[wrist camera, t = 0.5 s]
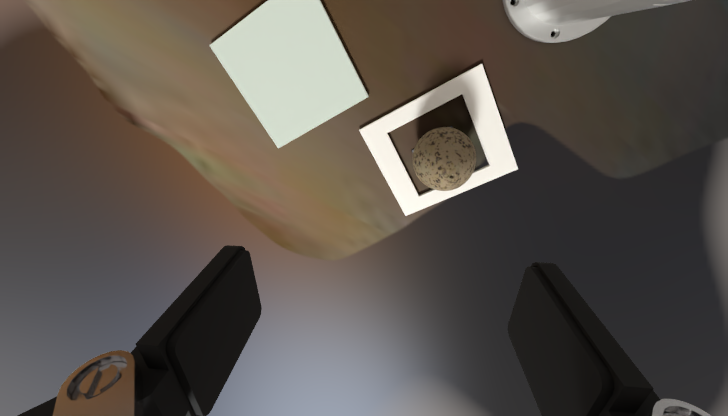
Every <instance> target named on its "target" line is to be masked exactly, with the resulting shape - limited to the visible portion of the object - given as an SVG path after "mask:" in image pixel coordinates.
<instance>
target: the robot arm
mask: <svg viewBox="0 0 728 416" xmlns="http://www.w3.org/2000/svg"><path fill="white" fill-rule="evenodd" d="M685 1H690V0H514V5H511V4H510V2H511V0H503V5H504V9H505V12H506V14H507V16H508V18H509V20H510V22H511V23H512V24H513V26H514V27H515V28H516V29H517V30H518V31H519V32H520V33H522V34H523V35H524V36H525V37H528V38H530V39H532V40H534V41H539V42H544V43H557V42H564V41H569V40H572V39H575V38H578V37H581V36H583V35H585V34H587V33H589V32H591V31H593V30H594V29H596V28H597V27H598V26H600V25H601V24H603V23H604V22H605V21H606V20H607V19H609V18H610V17H611V16H613V15H618V14H623V13H629V12H634V11H639V10H644V9H650V8H655V7H660V6H665V5H671V4H676V3H681V2H685ZM551 32H553V33H554V34H553V36H552V37H551ZM260 315H261V303H260V298H259V294H258V289H257V284H256V280H255V276H254V271H253V266H252V261H251V257H250V253H249V251H246V250H245V248H244V247H242V246H224V247H223V248H222V249H221V250H220V252H219V253H218V254H217V255H216V256H215V257H214V258H213V259H212V260H211V262H210V263H209V264H208V265H207V266H206V267H205V268H204V269H203V270H202V271H201V272H200V274H199V275H198V276H197V277H196V278H195V279H194V280H193V281H192V282H191V284H190V285H189V286H188V287H187V288H186V289H185V290H184V291H183V292H182V293H181V295H180V296H179V297H178V298H177V299H176V300H175V301H174V302H173V304H171V306H170V307H169V308H168V309H167V310H166V311H165V313H163V314H162V315H161V317H160V318H159V319H158V320H157V321H156V322H155V323H154V324H153V325H152V327H151V328H150V329H149V330H148V331H147V332H146V333H145V334H144V335H143V336H142V338H141V339H140V340H139V341H138V342H137V343H136V348H135V349H134V350H133V351H132V352H131V353H129V352H128V351H122V350H118V351H111V352H107V353H104V354H101V355H99V356H97V357H95V358H93V359H91V360H89V361H87V362H86V363H84V364H83V365H81V366H80V367H79V368H77V369H76V370H75V371H74V372H73V373H72V374H71V375H69V376H68V378H67V379H66V380H65V382H64V383H63V384H62V385H61V388H60V390H59V392H58V395H57V397H55V398H53V399H51V400H49V401H47V402H45V403H43V404H41V405H39V406H37V407H34V408H32V409H30V410H28V411H26V412H24V413H22V414H20V415H18V416H206V415H208V414H209V413H210V411H211V410H212V408H213V406H214V404H215V402H216V400H217V398H218V396H219V394H220V392H221V390H222V389H223V387H224V385H225V383H226V381H227V379H228V377H229V375H230V373H231V371H232V369H233V367H234V366H235V364H236V362H237V360H238V358H239V356H240V354H241V352H242V350H243V348H244V346H245V344H246V343H247V341H248V338H249V337H250V335H251V333H252V331H253V329H254V327H255V325H256V323H257V321H258V320H259V318H260ZM508 333H509V337H510V340H511V342H512V345H513V347H514V349H515V352H516V354H517V357H518V359H519V361H520V364H521V366H522V369H523V371H524V374H525V376H526V378H527V381H528V383H529V385H530V388H531V391H532V393H533V395H534V398H535V400H536V403H537V405H538V407H539V410H540V412H541V415H542V416H711V415H709V414H708V413H706V412H704V411H703V410H701V409H699V408H697V407H695V406H693V405H690V404H688V403H686V402H682V401H678V400H674V399H662V400H660V399H659V397H658V396H657V395H656V394H655V392H654V391H653V387H652V386H651V385H650V384H649V382H648V381H647V380H646V378H645V377H644V376H643V375H642V373H641V372H640V371H639V370H638V368H637V367H636V366H635V364H634V363H633V362H632V361H631V359H630V358H629V357H628V355H627V354H626V353H625V352H624V350H623V349H622V348H621V347H620V345H619V344H618V343H617V341H616V340H615V339H614V338H613V336H612V335H611V334H610V333H609V331H608V330H607V329H606V327H605V326H604V325H603V324H602V322H601V321H600V320H599V319H598V317H597V316H596V315H595V313H594V312H593V311H592V310H591V308H590V307H589V306H588V305H587V303H586V302H585V301H584V299H583V298H582V297H581V296H580V294H579V293H578V292H577V290H576V289H575V288H574V287H573V285H572V284H571V283H570V282H569V280H568V279H567V278H566V277H565V275H564V274H563V273H562V271H561V270H560V269H559V268H558V267H557V266H556V264H553V263H538V262H535V263H533V264H532V266H531V267H527V268H526V270H525V273H524V276H523V279H522V282H521V286H520V289H519V292H518V295H517V298H516V302H515V305H514V308H513V311H512V314H511V317H510V321H509V323H508Z"/></svg>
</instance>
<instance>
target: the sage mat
mask: <svg viewBox="0 0 728 416" xmlns="http://www.w3.org/2000/svg"><path fill="white" fill-rule="evenodd" d="M209 46H210V47H211V49H212V50H213V52H214V53H215V55H216V56H217V58H218V59H219V61H220V62H221V64H222V65H223V67H224V68H225V70H226V71H227V73H228V74H229V76H230V77H231V79H232V80H233V82H234V83H235V85H236V86H237V88H238V89H239V91H240V92H241V94H242V95H243V97H244V98H245V100H246V101H247V103H248V104H249V105H250V107H251V108H252V110H253V111H254V113H255V114H256V116H257V117H258V119H259V120H260V122H261V123H262V125H263V126H264V128H265V129H266V131H267V132H268V134H269V135H270V137H271V138H272V140H273V141H274V143H275V144H276V146H277V147H278V148H280V147H282V146H283V145H285V144H287V143H289V142H290V141H292V140H294V139H296V138H297V137H299V136H301V135H303V134H304V133H306V132H308V131H310V130H311V129H313V128H315V127H317V126H318V125H320V124H322V123H324V122H325V121H327V120H329V119H331V118H332V117H334V116H336V115H338V114H339V113H341V112H343V111H345V110H346V109H348V108H350V107H352V106H353V105H355V104H357V103H358V102H360V101H362V100H364V99H365V98H367V97H369V96H368V94H367V92H366V90H365V88H364V86H363V84H362V82H361V80H360V78H359V76H358V74H357V72H356V70H355V68H354V66H353V64H352V62H351V60H350V58H349V56H348V54H347V52H346V50H345V48H344V46H343V44H342V42H341V40H340V38H339V36H338V34H337V32H336V30H335V28H334V26H333V24H332V22H331V20H330V18H329V16H328V14H327V12H326V10H325V8H324V6H323V4H322V2H321V1H320V0H268V1H266V2H265V3H264V4H262V5H261V6H260V7H259V8H257V9H256V10H255V11H253V12H252V13H251V14H249V15H248V16H247V17H246V18H244V19H243V20H242V21H240V22H239V23H238V24H237V25H235V26H234V27H233V28H231V29H230V30H229V31H228V32H226V33H225V34H224V35H222V36H221V37H220V38H218V39H217V40H216V41H215V42H213V43H212V44H211V45H209Z"/></svg>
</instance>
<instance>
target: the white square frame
mask: <svg viewBox="0 0 728 416" xmlns="http://www.w3.org/2000/svg"><path fill="white" fill-rule="evenodd" d="M461 94H462V95H463V98H464V100H465V103H466V106H467V108H468V111H469V114H470V116H471V119H472V121H473V124H474V127H475V129H476V132H477V135H478V137H479V140H480V142H481V145H482V148H483V150H484V153H485V156H486V158H487V161H488V163H489V165H487V166H485V167H482V168H480V169H478V170H476V171H473V173H472V175H471V177H470V178H469V179H468V181H467V182H466V183H465V184H463V185H462V186H460V187H459V188H456V189H454V190H450V191H439V190H435V189H432V190H429V191H427V192H425V193H423V194H420V195H418V193H417V191H416V189H415V187H414V185H413V183H412V181H411V179H410V177H409V175H408V173H407V171H406V169H405V167H404V165H403V163H402V161H401V159H400V157H399V155H398V153H397V151H396V149H395V147H394V145H393V143H392V141H391V139H390V137H389V135H388V132H390V131H392V130H394V129H396V128H398V127H400V126H402V125H404V124H406V123H408V122H409V121H411V120H413V119H415V118H417V117H419V116H421V115H423V114H425V113H427V112H429V111H431V110H433V109H435V108H436V107H438V106H440V105H442V104H444V103H446V102H448V101H450V100H452V99H454V98H456V97H458V96H460V95H461ZM450 127H451V128H453V127H452V126H450ZM359 131H360V133H361V135H362V136H363V138H364V140H365V142H366V144H367V146H368V147H369V149H370V151H371V153H372V155H373V157H374V159H375V160H376V162H377V164H378V166H379V168H380V170H381V171H382V173H383V175H384V177H385V179H386V181H387V183H388V184H389V186H390V188H391V190H392V192H393V194H394V195H395V197H396V199H397V201H398V203H399V205H400V207H401V208H402V210H403V212H404V214H405V216H407V215H409V214H412V213H414V212H416V211H419V210H421V209H424V208H426V207H428V206H431V205H433V204H435V203H438V202H440V201H443V200H445V199H447V198H450V197H452V196H455V195H457V194H459V193H462V192H464V191H467V190H469V189H471V188H474V187H476V186H479V185H481V184H483V183H486V182H488V181H491V180H493V179H495V178H498V177H500V176H503V175H505V174H507V173H510V172H512V171H515V170H517V169H518V167H517V165H516V161H515V158H514V156H513V153H512V150H511V147H510V144H509V141H508V138H507V135H506V132H505V129H504V126H503V123H502V120H501V117H500V115H499V112H498V109H497V106H496V103H495V100H494V97H493V94H492V91H491V88H490V85H489V82H488V79H487V76H486V74H485V71H484V68H483V65H482V64H479V65H478V66H476V67H474V68H472V69H470V70H468V71H467V72H465V73H463V74H461V75H459V76H457V77H455V78H454V79H452V80H450V81H448V82H446V83H444V84H443V85H441V86H439V87H437V88H435V89H433V90H431V91H430V92H428V93H426V94H424V95H422V96H420V97H418V98H417V99H415V100H413V101H411V102H409V103H407V104H406V105H404V106H402V107H400V108H398V109H396V110H394V111H393V112H391V113H389V114H387V115H385V116H383V117H381V118H380V119H378V120H376V121H374V122H372V123H370V124H369V125H367V126H365V127H363V128H361V129H359ZM413 152H414V149H413V150H412V153H413Z"/></svg>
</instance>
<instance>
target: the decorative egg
mask: <svg viewBox="0 0 728 416" xmlns="http://www.w3.org/2000/svg"><path fill="white" fill-rule="evenodd" d="M475 165H476V152H475V148H474V146H473V143H472V142H471V140H470V139H469V137H468V136H467V135H465V134H464V133H463V132H461V131H460V130H457V129H455V128H451V127H440V128H436V129H433V130H431V131H429V132H427V133H426V134H424V135H423V136H422V137H421V138H420V140H419V141H418V142H417V144H416V146H415V149H414V152H413V167H414V171H415V173H416V175H417V176H418V178H419V179H420V181H421V182H422V183H424V184H425V185H426V186H428V187H430V188H432V189H435V190H439V191H450V190H454V189H456V188H459V187H460V186H462V185H463V184H465V183H466V182H467V181H468V179H469V178H470V177H471V175H472V173H473V171H474V169H475Z"/></svg>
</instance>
